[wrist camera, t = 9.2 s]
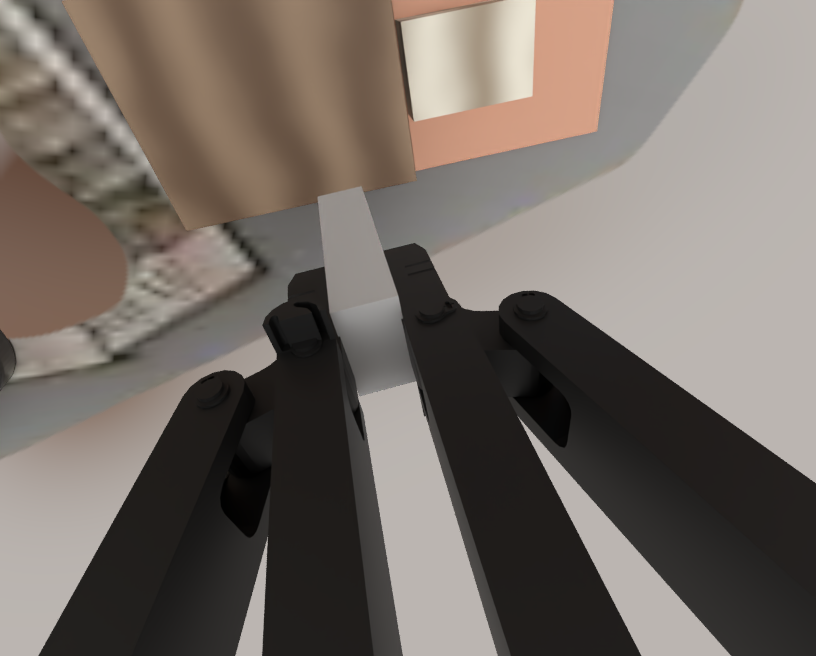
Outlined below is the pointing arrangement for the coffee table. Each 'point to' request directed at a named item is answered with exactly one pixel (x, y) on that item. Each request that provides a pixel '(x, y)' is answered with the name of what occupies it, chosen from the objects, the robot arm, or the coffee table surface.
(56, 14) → the coffee table surface
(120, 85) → the block
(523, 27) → the birch tile
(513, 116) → the terracotta mat
